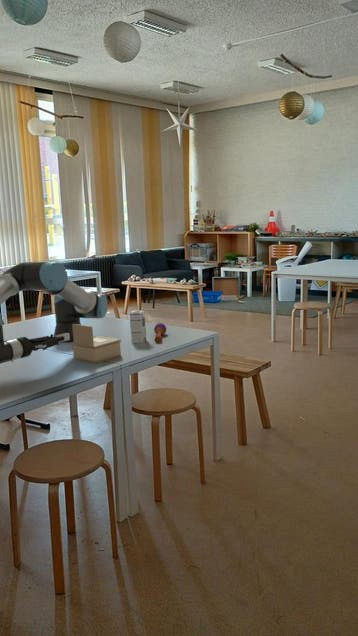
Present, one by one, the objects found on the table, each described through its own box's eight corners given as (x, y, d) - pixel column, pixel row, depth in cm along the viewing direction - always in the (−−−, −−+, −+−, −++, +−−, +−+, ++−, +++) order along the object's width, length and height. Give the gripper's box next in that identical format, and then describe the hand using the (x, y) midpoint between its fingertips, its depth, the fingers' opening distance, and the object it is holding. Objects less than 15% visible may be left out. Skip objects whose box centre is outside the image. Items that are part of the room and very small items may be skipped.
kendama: (150, 335, 263) (153, 323, 282) (153, 347, 264) (156, 334, 283) (162, 332, 262) (165, 320, 281) (165, 344, 264) (167, 331, 283)
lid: (71, 344, 240) (69, 323, 238) (97, 337, 251) (96, 317, 249) (94, 348, 231) (92, 327, 229) (120, 341, 241) (119, 320, 240)
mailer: (73, 358, 241) (72, 344, 240) (98, 351, 252) (97, 338, 251) (95, 363, 232) (94, 349, 231) (120, 355, 243) (119, 342, 241)
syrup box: (143, 343, 264) (141, 312, 261) (131, 343, 265) (129, 312, 263) (146, 340, 270) (144, 310, 267) (134, 340, 271) (132, 310, 268)
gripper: (8, 356, 217) (59, 343, 234) (29, 360, 208) (79, 347, 226) (6, 336, 215) (57, 325, 233) (27, 340, 207) (78, 328, 224)
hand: (68, 336), depth 229 cm, fingers closed
